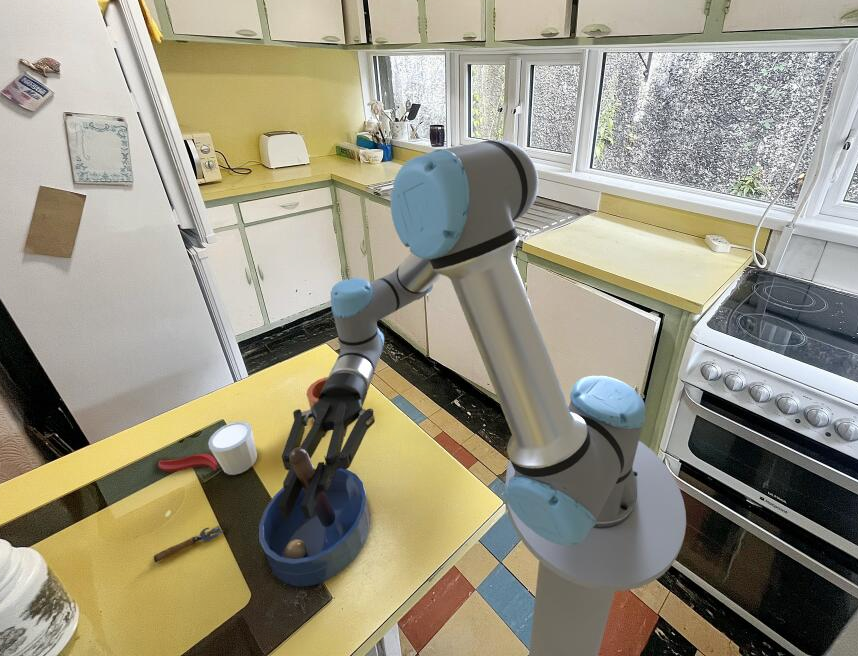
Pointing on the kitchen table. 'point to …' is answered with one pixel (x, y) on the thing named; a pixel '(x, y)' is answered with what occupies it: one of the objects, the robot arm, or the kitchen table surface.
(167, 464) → the cayenne pepper
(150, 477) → the kitchen table surface
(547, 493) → the robot arm
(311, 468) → the stirring stick
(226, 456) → the white cup
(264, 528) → the bowl
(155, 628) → the kitchen table surface
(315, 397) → the holder
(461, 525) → the kitchen table surface
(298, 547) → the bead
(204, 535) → the can opener
